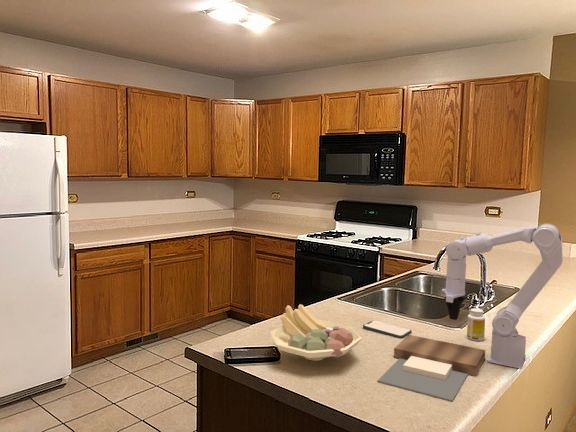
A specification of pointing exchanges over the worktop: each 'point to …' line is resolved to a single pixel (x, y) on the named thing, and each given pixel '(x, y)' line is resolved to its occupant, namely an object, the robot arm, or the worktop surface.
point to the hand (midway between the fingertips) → (453, 318)
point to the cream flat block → (427, 367)
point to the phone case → (387, 329)
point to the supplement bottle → (476, 325)
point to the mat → (424, 382)
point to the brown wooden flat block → (442, 353)
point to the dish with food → (313, 335)
